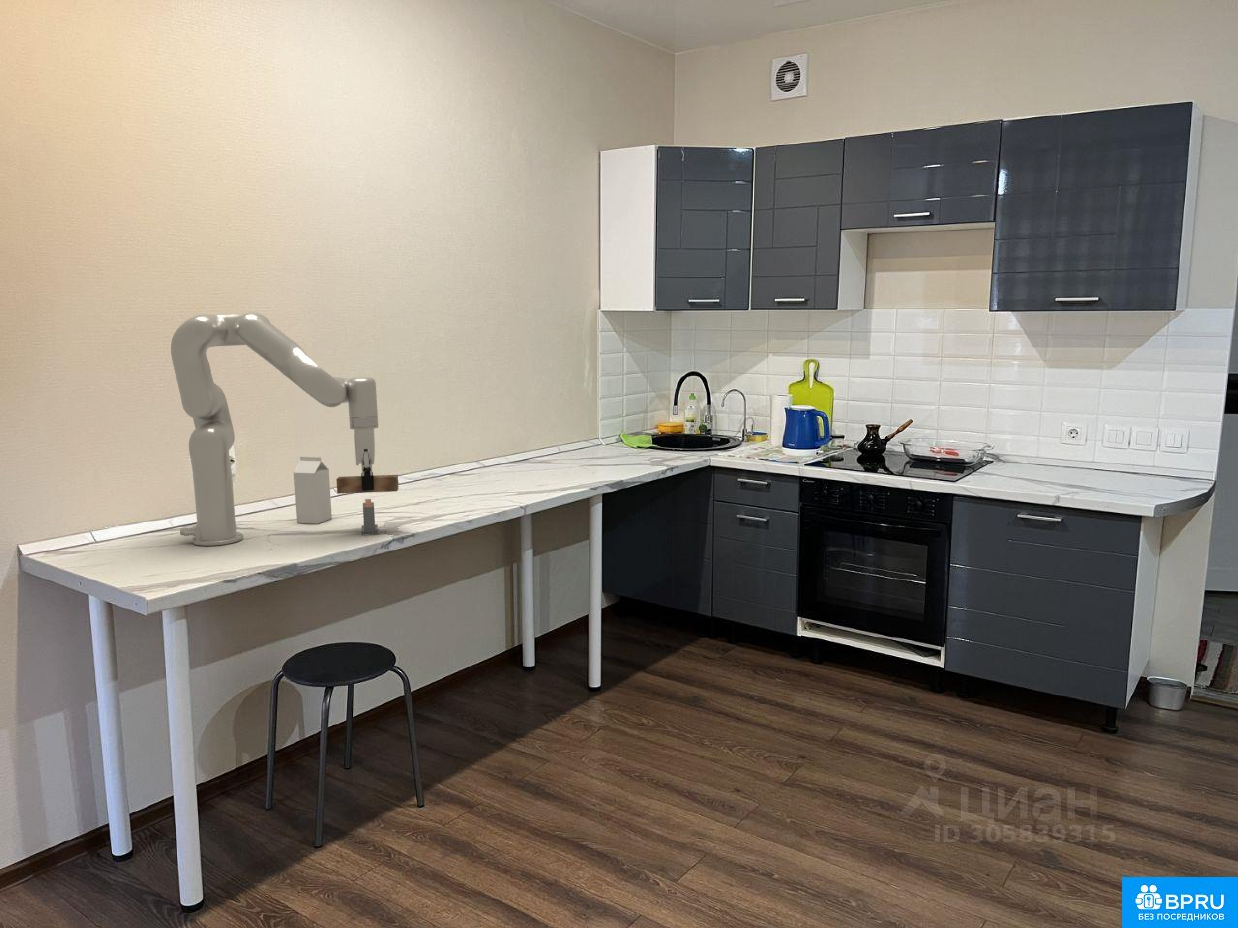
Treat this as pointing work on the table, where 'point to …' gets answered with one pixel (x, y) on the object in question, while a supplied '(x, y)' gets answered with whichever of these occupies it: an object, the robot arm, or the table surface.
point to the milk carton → (312, 491)
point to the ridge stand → (369, 518)
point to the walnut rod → (355, 484)
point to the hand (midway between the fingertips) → (368, 487)
